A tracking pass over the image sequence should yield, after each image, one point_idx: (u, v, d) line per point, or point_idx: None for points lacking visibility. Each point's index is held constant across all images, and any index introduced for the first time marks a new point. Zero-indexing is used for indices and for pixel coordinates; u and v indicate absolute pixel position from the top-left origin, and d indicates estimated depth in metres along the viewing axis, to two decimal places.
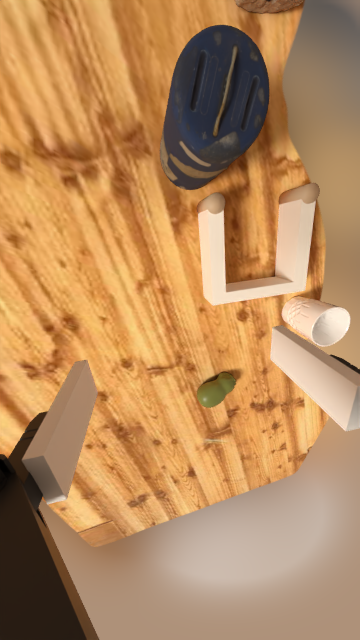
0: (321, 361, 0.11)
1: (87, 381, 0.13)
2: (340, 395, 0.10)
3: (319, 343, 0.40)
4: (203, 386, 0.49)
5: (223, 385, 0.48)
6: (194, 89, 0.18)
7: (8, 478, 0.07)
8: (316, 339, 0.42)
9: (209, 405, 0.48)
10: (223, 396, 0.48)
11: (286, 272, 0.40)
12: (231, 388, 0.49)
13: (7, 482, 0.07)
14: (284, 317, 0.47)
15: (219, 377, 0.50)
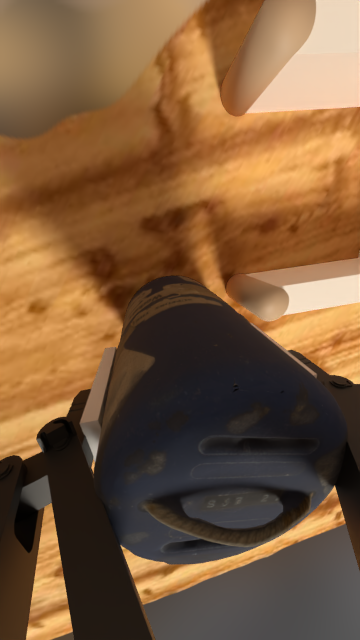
0: None
1: None
2: None
3: None
4: None
5: None
6: None
7: (71, 438, 0.08)
8: None
9: None
10: None
11: None
12: None
13: (71, 441, 0.08)
14: None
15: None
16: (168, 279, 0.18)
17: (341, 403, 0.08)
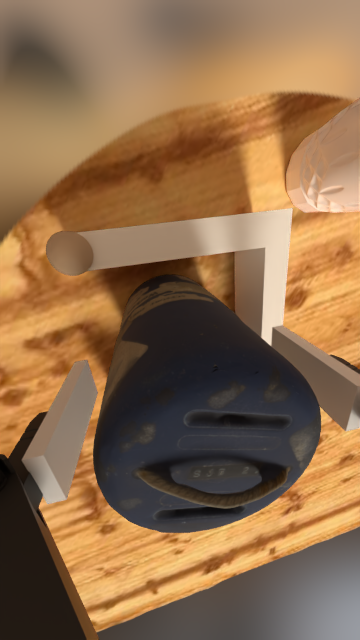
0: (321, 361, 0.11)
1: (87, 381, 0.13)
2: (340, 395, 0.10)
3: None
4: None
5: None
6: (210, 510, 0.09)
7: (8, 478, 0.07)
8: None
9: None
10: None
11: None
12: None
13: (7, 482, 0.07)
14: None
15: None
16: (165, 278, 0.19)
17: None
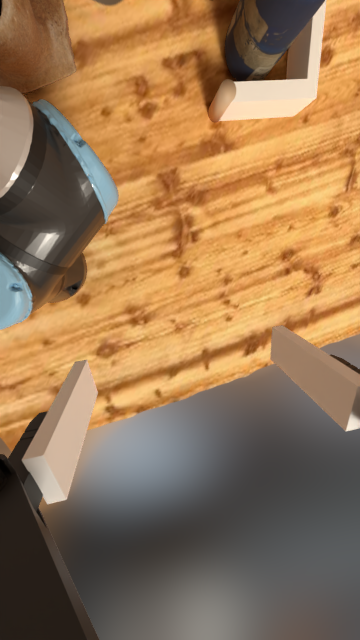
0: (321, 361, 0.11)
1: (87, 381, 0.13)
2: (340, 395, 0.10)
3: None
4: None
5: None
6: None
7: (8, 478, 0.07)
8: None
9: None
10: None
11: None
12: None
13: (7, 482, 0.07)
14: None
15: None
16: None
17: None
